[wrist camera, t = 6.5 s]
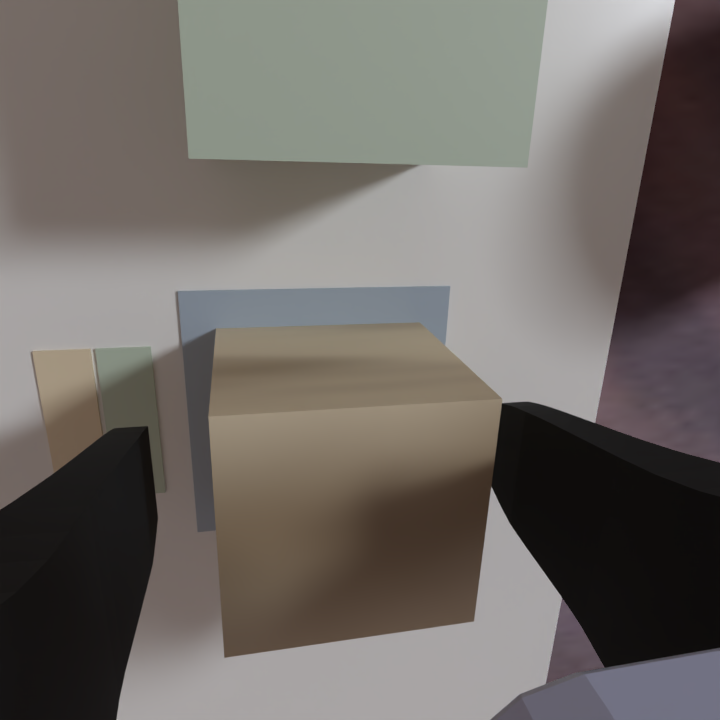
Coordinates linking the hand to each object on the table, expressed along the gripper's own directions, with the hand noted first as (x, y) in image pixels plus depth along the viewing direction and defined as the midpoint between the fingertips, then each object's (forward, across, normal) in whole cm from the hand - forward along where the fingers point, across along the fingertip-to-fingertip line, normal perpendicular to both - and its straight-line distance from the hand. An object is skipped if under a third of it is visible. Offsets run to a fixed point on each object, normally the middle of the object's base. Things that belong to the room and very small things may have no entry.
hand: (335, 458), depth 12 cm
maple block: (+2, 0, 0) cm, 2 cm away
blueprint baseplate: (+3, 0, 0) cm, 3 cm away
